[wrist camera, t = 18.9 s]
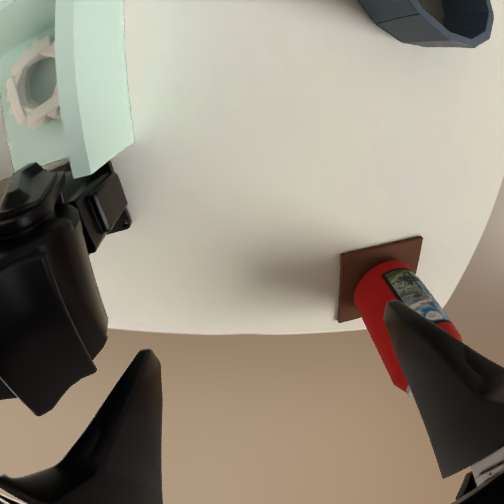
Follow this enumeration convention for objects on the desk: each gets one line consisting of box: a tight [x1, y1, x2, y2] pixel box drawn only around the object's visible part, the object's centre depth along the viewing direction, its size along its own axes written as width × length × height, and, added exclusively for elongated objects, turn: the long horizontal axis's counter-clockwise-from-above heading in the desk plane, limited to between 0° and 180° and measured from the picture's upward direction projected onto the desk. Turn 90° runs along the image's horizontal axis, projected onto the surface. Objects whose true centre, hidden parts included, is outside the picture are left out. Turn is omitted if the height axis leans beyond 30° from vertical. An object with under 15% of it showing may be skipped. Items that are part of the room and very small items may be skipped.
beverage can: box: [354, 260, 462, 397], centre depth 21 cm, size 7×7×12 cm
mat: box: [338, 236, 423, 323], centre depth 27 cm, size 9×9×1 cm
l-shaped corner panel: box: [0, 0, 135, 179], centre depth 10 cm, size 12×12×8 cm
